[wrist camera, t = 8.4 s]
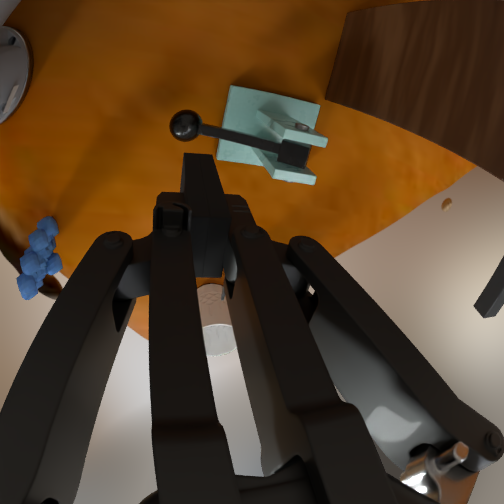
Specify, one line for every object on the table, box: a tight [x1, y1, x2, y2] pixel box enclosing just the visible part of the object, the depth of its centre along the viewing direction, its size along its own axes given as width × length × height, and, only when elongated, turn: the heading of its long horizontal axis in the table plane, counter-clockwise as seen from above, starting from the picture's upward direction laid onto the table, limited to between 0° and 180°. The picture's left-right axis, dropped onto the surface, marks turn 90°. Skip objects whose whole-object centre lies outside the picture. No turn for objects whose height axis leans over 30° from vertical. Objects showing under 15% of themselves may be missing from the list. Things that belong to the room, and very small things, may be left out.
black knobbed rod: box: [169, 110, 312, 169], centre depth 30 cm, size 15×4×4 cm, turn 78°
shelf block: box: [325, 0, 504, 182], centre depth 23 cm, size 12×14×30 cm
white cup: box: [197, 284, 237, 356], centre depth 50 cm, size 8×8×10 cm
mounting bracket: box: [216, 85, 328, 185], centre depth 33 cm, size 12×10×14 cm
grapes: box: [17, 216, 63, 300], centre depth 36 cm, size 12×7×12 cm, turn 148°
